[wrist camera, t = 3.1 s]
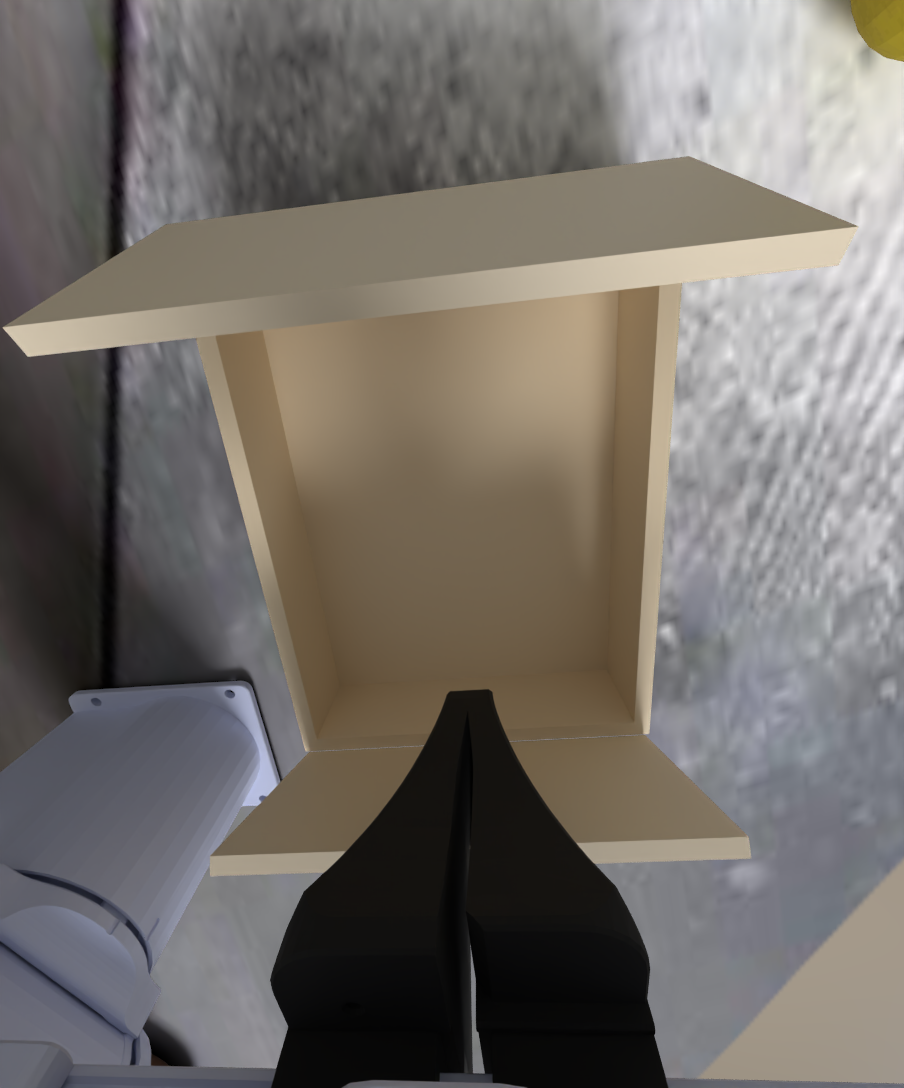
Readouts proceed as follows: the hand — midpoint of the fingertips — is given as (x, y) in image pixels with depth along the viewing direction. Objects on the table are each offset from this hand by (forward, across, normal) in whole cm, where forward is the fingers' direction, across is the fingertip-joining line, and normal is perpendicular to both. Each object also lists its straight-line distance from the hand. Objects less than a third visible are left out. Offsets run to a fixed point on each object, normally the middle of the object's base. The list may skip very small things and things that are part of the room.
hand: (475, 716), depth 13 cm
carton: (+7, 0, -5) cm, 9 cm away
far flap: (0, 0, +3) cm, 3 cm away
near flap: (0, 0, -12) cm, 12 cm away
